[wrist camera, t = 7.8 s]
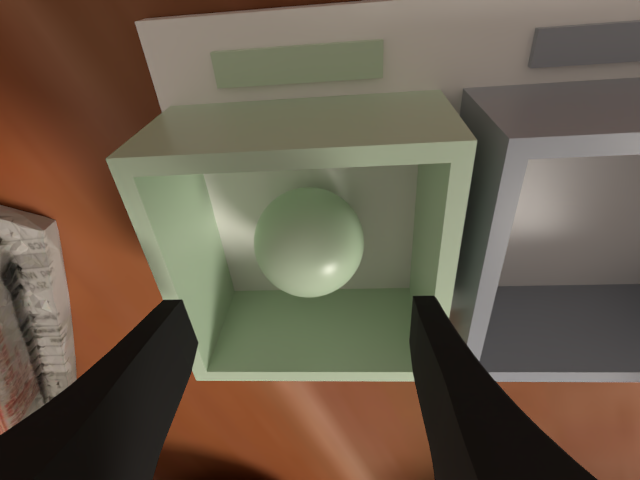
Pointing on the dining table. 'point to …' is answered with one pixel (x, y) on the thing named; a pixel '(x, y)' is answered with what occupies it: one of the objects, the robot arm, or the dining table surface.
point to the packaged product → (32, 316)
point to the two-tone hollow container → (400, 182)
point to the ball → (308, 242)
